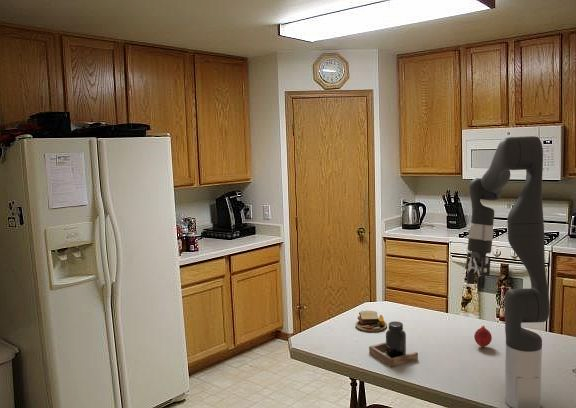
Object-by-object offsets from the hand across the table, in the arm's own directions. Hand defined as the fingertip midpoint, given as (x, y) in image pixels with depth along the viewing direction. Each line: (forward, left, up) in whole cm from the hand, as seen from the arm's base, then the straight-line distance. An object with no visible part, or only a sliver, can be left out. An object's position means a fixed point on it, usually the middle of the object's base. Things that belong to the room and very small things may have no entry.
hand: (475, 286), depth 177 cm
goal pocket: (+1, +27, -25) cm, 37 cm away
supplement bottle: (0, +27, -25) cm, 37 cm away
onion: (+8, -5, -25) cm, 27 cm away
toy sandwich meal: (+30, +33, -25) cm, 51 cm away
